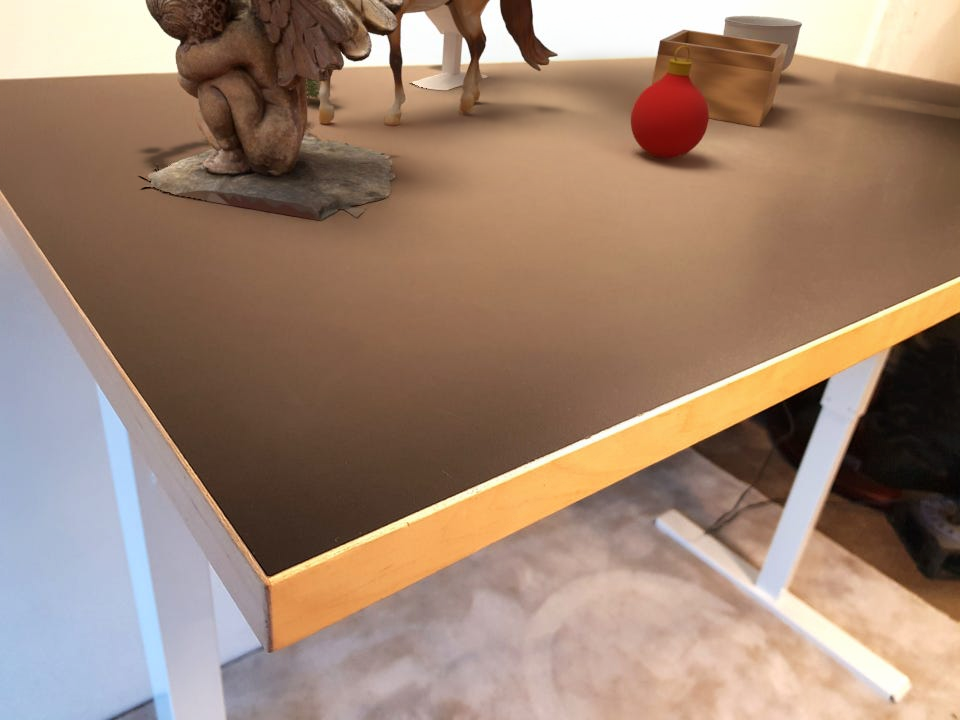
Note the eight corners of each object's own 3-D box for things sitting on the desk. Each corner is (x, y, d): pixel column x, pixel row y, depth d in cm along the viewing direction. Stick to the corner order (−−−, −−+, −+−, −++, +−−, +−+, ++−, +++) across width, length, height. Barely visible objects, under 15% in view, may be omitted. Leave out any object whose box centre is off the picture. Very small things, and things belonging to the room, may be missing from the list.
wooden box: (771, 107, 100) (788, 44, 97) (758, 127, 90) (776, 57, 86) (671, 90, 105) (683, 29, 101) (647, 107, 94) (659, 40, 90)
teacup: (776, 86, 114) (791, 26, 109) (703, 72, 118) (716, 14, 114) (799, 75, 124) (814, 20, 120) (732, 63, 129) (744, 9, 125)
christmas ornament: (673, 145, 80) (695, 39, 75) (714, 166, 74) (740, 54, 69) (611, 146, 77) (629, 37, 72) (648, 169, 72) (671, 52, 67)
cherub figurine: (243, 129, 72) (228, -98, 63) (432, 160, 68) (445, -76, 59) (115, 184, 57) (70, -104, 48) (348, 228, 53) (348, -73, 44)
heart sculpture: (437, 93, 91) (447, -86, 82) (400, 85, 93) (406, -90, 84) (495, 74, 104) (509, -83, 94) (461, 68, 105) (472, -87, 96)
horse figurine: (316, 143, 70) (311, -131, 59) (270, 122, 74) (258, -135, 64) (552, 109, 89) (579, -102, 79) (504, 94, 94) (523, -107, 83)
